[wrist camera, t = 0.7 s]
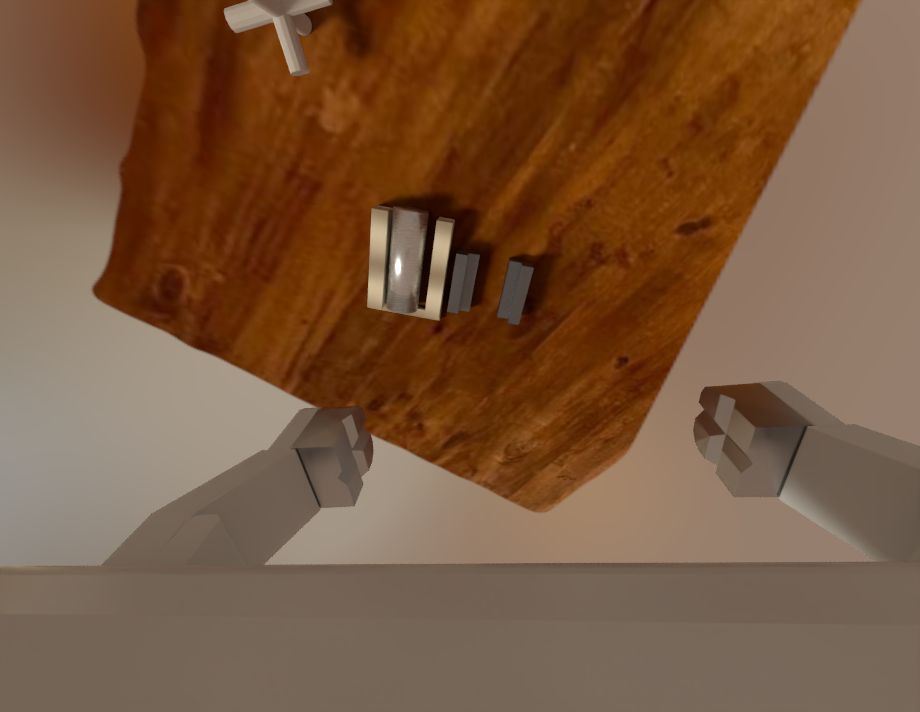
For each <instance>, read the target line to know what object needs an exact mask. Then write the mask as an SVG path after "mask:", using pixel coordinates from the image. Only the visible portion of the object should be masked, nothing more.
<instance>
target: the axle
mask: <svg viewBox="0 0 920 712" xmlns="http://www.w3.org/2000/svg"><path fill="white" fill-rule="evenodd" d="M428 217H429V212H428V211H426V210H423V209H419V208H414V207H409V206H393V217H392V231H391V245H390V260H389V274H388V288H387V302H386V307H387V308H388V309H389V310H391V311H393V312H397V313H404V314H407V313H414V312H416V311H417V310H418V303H419V294H420V286H421V277H422V269H423V260H424V251H425V243H426V234H427V226H428Z"/></svg>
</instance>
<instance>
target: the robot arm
mask: <svg viewBox="0 0 920 712" xmlns="http://www.w3.org/2000/svg"><path fill="white" fill-rule="evenodd" d="M699 403H700V404H701V406H702V407H703V409H704V411H703V412H701V413H700V414H699V415H698V416H697V417H696V418H695V423H694V430H693V431H694V437H695V442H696V445H697V447H698V449H699V451H700V452H701V454H702V455H703V456H704V458H705V459H707V460H709V461H710V462H712V463H714V464H716V465H718V467H717V471H716V474H717V475H718V477H719V478H720V479H721V481H722V482H723V483H724V485H725V486H726V487H727V489H728V490H729V491H730V492H731V494H732V495H733V496H734V497H779V499H780V500H781V501H783V502H784V503H786V504H787V505H789V506H791V507H792V508H793V509H795V510H797V511H798V512H800V513H801V514H803V515H804V516H806V517H807V518H809V519H811V520H812V521H814V522H815V523H817V524H819V525H820V526H821V527H823V528H824V529H826V530H828V531H829V532H831V533H832V534H834V535H835V536H837V537H838V538H840V539H841V540H843V541H845V542H846V543H848V544H849V545H851V546H852V547H854V548H855V549H857V550H858V551H860V552H862V553H863V554H865V555H866V556H868V557H869V558H871V559H872V560H874V561H875V562H747V563H746V562H737V563H735V562H734V563H531V564H530V563H525V564H523V563H522V564H350V565H349V564H339V565H337V564H327V565H264V564H265V563H266V562H267V561H268V560H269V559H270V558H271V557H272V556H273V555H274V554H275V553H276V552H277V551H278V550H279V549H280V548H281V547H282V546H283V545H284V544H285V543H287V541H289V540H290V539H291V538H292V537H293V536H294V535H295V534H296V533H297V532H298V531H299V529H301V528H302V527H303V526H304V525H305V524H306V523H307V522H308V521H309V520H310V519H311V518H312V517H313V516H314V515H316V514H317V513H318V512H319V511H320V508H330V507H347V506H348V507H349V506H355V504H356V501H357V499H358V496H359V494H360V491H361V489H362V486H363V481H362V478H361V476H363V475H364V474H365V473H366V472H367V471H369V468H370V466H371V463H372V458H373V441H372V438H371V434H370V433H369V432H368V431H367V430H366V429H364V428H363V426H364V424H365V422H366V417H365V414H364V411H363V409H362V408H361V407H359V406H348V407H323V408H320V407H319V408H305V409H302V410H300V411H299V412H298V413H297V414H296V415H295V417H294V418H293V419H292V420H291V422H290V423H289V424H288V425H287V427H286V428H285V429H284V430H283V432H282V433H281V434H280V435H279V437H278V438H277V439H276V440H275V442H274V443H273V444H272V446H271V447H270V448H269V449H268V450H262V451H260V452H258V453H256V454H255V455H253V456H251V457H250V458H248V459H246V460H244V461H243V462H241V463H239V464H237V465H235V466H234V467H232V468H231V469H229V470H227V471H225V472H223V473H222V474H220V475H218V476H216V477H215V478H213V479H211V480H210V481H208V482H206V483H204V484H203V485H201V486H199V487H197V488H196V489H194V490H192V491H190V492H189V493H187V494H185V495H183V496H182V497H180V498H178V499H177V500H175V501H173V502H171V503H170V504H168V505H166V506H165V507H163V508H161V509H159V510H157V511H156V512H154V513H152V514H151V515H150V516H149V517H148V518H147V519H146V520H145V521H144V522H143V523H142V524H141V525H140V526H139V527H138V528H137V529H136V530H135V531H134V532H133V533H132V534H131V535H130V536H129V537H128V538H127V539H126V540H125V541H124V542H123V543H122V544H121V546H120V547H119V548H118V549H117V550H116V551H115V552H114V553H113V554H112V555H111V556H110V557H109V558H108V559H107V560H106V561H105V562H104V563H103V564H102V565H101V566H0V712H920V446H918V445H915V444H912V443H909V442H906V441H903V440H899V439H897V438H893V437H891V436H888V435H885V434H882V433H879V432H876V431H873V430H870V429H867V428H864V427H861V426H858V425H855V424H851V425H846V424H844V423H843V422H841V421H840V420H839V419H837V418H836V417H834V416H833V415H832V414H830V413H829V412H827V411H826V410H825V409H823V408H822V407H820V406H819V405H818V404H816V403H815V402H813V401H812V400H810V399H809V398H808V397H806V396H805V395H803V394H802V393H801V392H799V391H798V390H796V389H795V388H793V387H792V386H791V385H789V384H788V383H785V382H781V381H770V382H759V383H752V384H738V385H725V386H712V387H705V388H704V389H703V391H702V392H701V396H700V400H699Z"/></svg>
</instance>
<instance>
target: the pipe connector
mask: <svg viewBox="0 0 920 712" xmlns="http://www.w3.org/2000/svg"><path fill="white" fill-rule="evenodd" d="M330 5H333V0H249V1H247V2H244V3H241V4H237V5H234V6H231V7H228V8H225V9H224V14H225V18H226V20H227V22H228V24H229V26H230V27H231V29H232V30H233V31H234V32H235V33H240V32H243V31H246V30H250V29H253V28H256V27H260V26H263V25H266V24H270V23H273V22H274V24H275V27H276V30H277V33H278V36H279V39H280V43H281V46H282V49H283V52H284V55H285V58H286V61H287V64H288V67H289V70H290V73H291V75H294V76H300V75H305V74H307V73H309V70H308V66H307V63H306V60H305V57H304V53H303V50H302V47H301V44H300V40H299V37H298V34H297V32H298V33H299V34H301V35H303V36H307V35H309V34H310V32H311V29H312V24H311V21H310V19H309V17H308V16H307V15H306V14H304V13H306V12H310V11H313V10H316V9H320V8H323V7H326V6H330Z"/></svg>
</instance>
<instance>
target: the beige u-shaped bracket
mask: <svg viewBox="0 0 920 712" xmlns="http://www.w3.org/2000/svg"><path fill="white" fill-rule="evenodd" d="M392 217H393V208H390V207H384V206H379V205H378V206H376V207H373V208H372V214H371V237H370V260H369V283H368V306H367V307H369V308H373V309H379V310H384V311H390V312H393V311H391V310H389V309H388V308H387V307H386V302H387V288H388V274H389V260H390V245H391V231H392ZM454 223H455V220H454V219H448V218H443V217H439V218H438V219H437V222H436V230H435V237H434V245H433V253H432V261H431V269H430V277H429V285H428V292H427V300H426V308H422V307H418V310H417V311H416V312H414V313H407V314H406V315H412V316H417V317H423V318H428V319H434V320H440V316H441V309H442V302H443V296H444V289H445V282H446V276H447V269H448V262H449V256H450V249H451V243H452V236H453V229H454ZM395 313H397V312H395ZM401 314H404V313H401Z"/></svg>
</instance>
